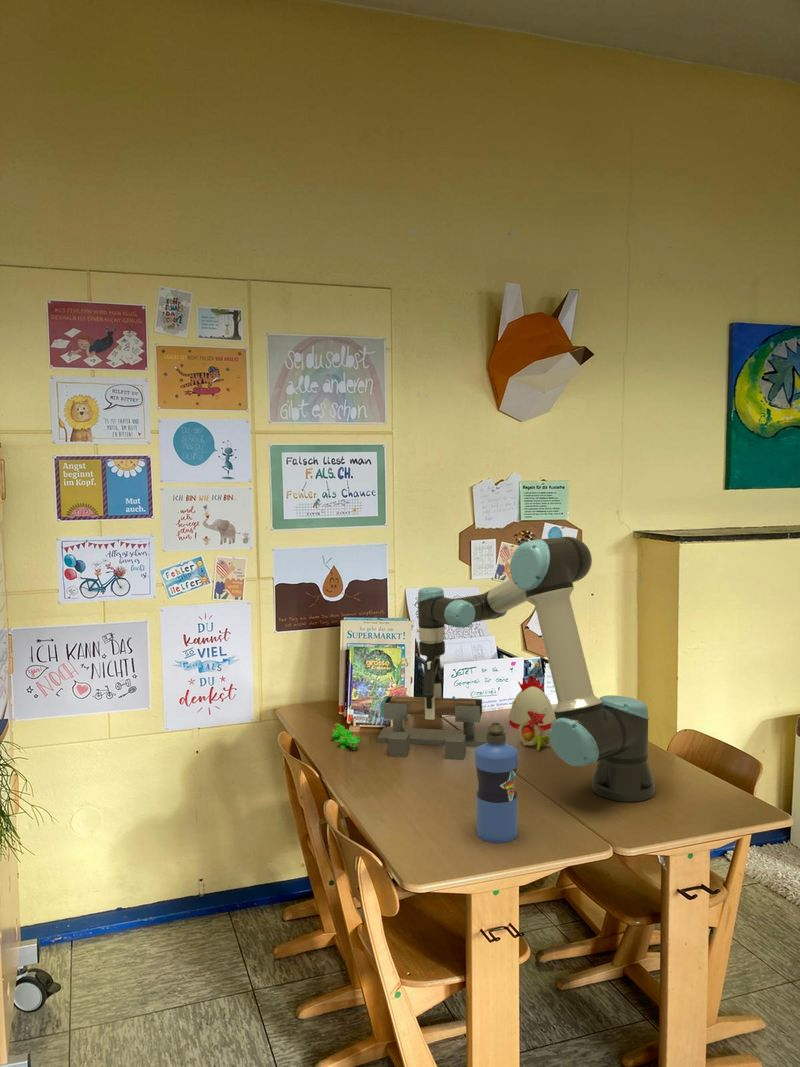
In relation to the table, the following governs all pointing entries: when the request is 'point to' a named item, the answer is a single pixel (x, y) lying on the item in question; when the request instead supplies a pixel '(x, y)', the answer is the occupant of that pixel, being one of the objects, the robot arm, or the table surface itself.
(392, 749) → the rail rest
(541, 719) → the bird rattle
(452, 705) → the walnut rail
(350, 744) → the crocodile figurine
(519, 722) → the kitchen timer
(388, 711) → the rail stand
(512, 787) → the water bottle
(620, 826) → the table surface
